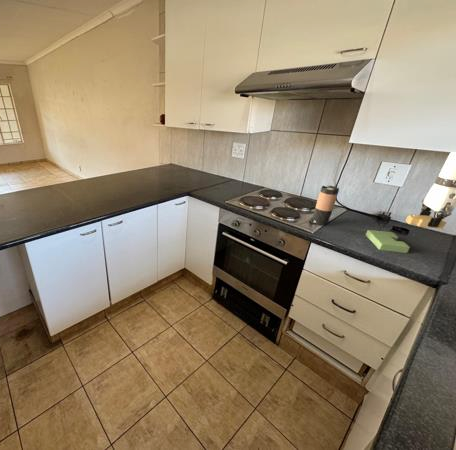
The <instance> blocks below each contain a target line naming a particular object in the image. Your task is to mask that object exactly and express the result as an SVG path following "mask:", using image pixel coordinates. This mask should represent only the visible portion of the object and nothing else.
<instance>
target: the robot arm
mask: <svg viewBox="0 0 456 450" xmlns="http://www.w3.org/2000/svg"><path fill="white" fill-rule="evenodd" d="M435 179H436V180H435V181H434V183H433V185H432V186H431V187H430V189H429V190H428V192H427V194H426V195H425V197H424V198H423V199H422V200H421V203H422V205H421V209H420V210H421V211H420V213H419V215H425V216H431V214H432V211H434V213H433V216H434V218H433V217H432V218H431V220H430V222H429V223H428V225H427V226H429V227H438V226H439V224H440V222H441V220H444V219H445V218H447V217H450V216H451V215H452V212H453V211H454V210H455V208H456V152H452V151H451V152H450V153H449V155H448V156H447V157H446V160H445V162H444V164H443V166H442V167H441V170H440V172H439V173H438V175H437V177H436V178H435ZM429 227H428V228H429Z"/></svg>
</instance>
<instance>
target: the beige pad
mask: <svg viewBox="0 0 456 450" xmlns="http://www.w3.org/2000/svg"><path fill="white" fill-rule="evenodd" d="M432 217H433V218H434V215H430V216H425V215H420V214H413V215H411V214H408V215H407V217H406V219H405V222H406V223H407V224H408V225H412V226H417V227H419V228H430V229H438V230H439V229H440V230H443V229H444V228H445V226H446V224H447V222H446V221H444V219H442V220H441V222H440V224H439V226H438V227H429V226H427V225H428V223H429V222H430V220H431V218H432Z"/></svg>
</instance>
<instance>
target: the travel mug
mask: <svg viewBox="0 0 456 450" xmlns="http://www.w3.org/2000/svg"><path fill="white" fill-rule="evenodd" d="M339 191H340V188H339V187H338V186H334V185H328V186H325V185H322V186H321V188H320V191H319V195H318V198H317V201H316V204H315V207H314V211H313V216H312V219H314V220H315V221H316V223H317V224H319V225H324V226H323V227H325V225H326V226H327V225H328V223H329V221H330V218H331V215H332V213H333V211H334V207H335V203H336V200H337V198H338V195H339ZM319 225H318V226H319Z"/></svg>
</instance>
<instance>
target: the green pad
mask: <svg viewBox="0 0 456 450" xmlns="http://www.w3.org/2000/svg"><path fill="white" fill-rule="evenodd" d="M365 236H366V237H367V239H369V240H370V241H371V242H372V244H373V245H374V246H375V247H376V248H377V249H378V250H379V251H385V252H386V251H387V252H392V253H401V254H402V253H403V254H408V252H409V250H410V248H411V246H410V245H408V244H407V243H406V242H404V241H401V240H398V239H399V236H397V235H396V233H394V232H393V231H386V230H385V231H384V230H374V229H367V231H366V233H365Z"/></svg>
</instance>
